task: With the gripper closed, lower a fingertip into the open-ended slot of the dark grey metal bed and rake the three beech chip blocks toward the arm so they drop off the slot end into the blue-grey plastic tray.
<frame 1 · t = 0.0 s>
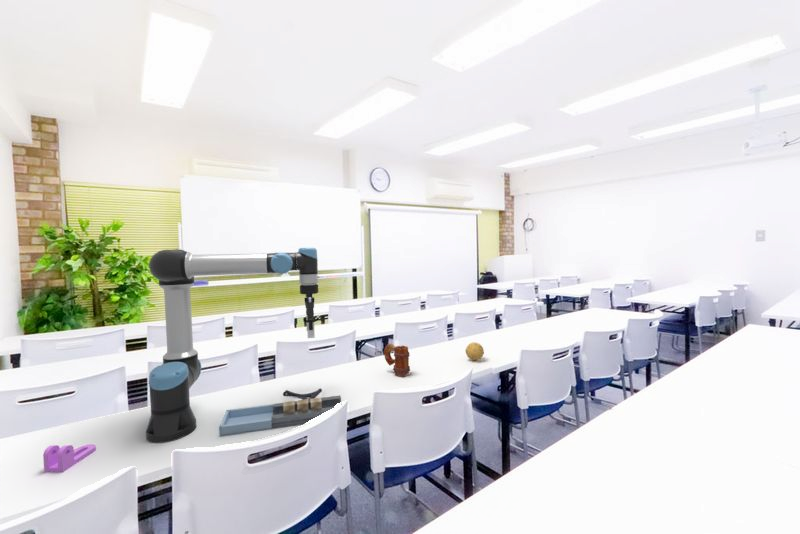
hand: (310, 334, 154), 28 cm above the table, fingers open, 13 cm apart
chip 3: (316, 410, 141), point 1 cm above the table, touching slot bed
stress ball: (474, 360, 204), on the table
chip 2: (302, 412, 139), point 1 cm above the table, touching slot bed
chip 1: (289, 413, 138), point 1 cm above the table, touching slot bed
bracket 2: (74, 460, 113), on the table
mug: (397, 374, 184), on the table
bracket: (299, 397, 158), on the table
slot bed: (308, 415, 140), on the table
tray: (248, 423, 134), on the table
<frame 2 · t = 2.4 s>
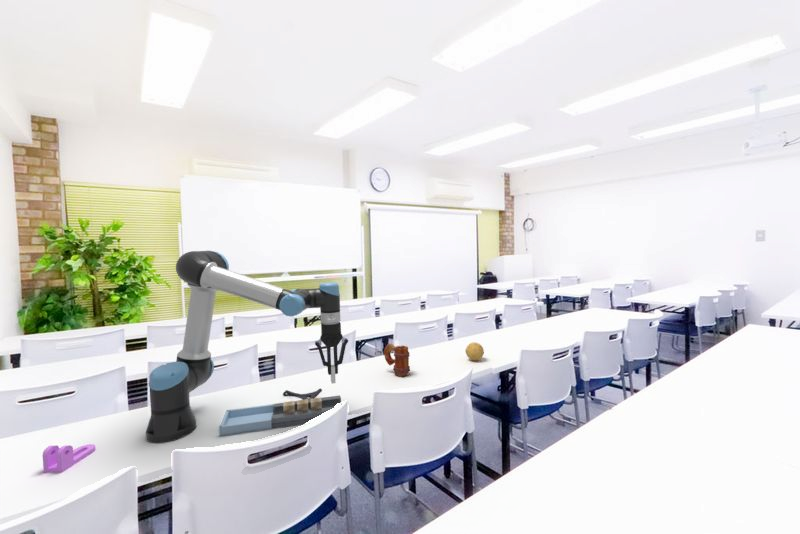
hand: (333, 382, 142), 12 cm above the table, fingers closed
nothing on the table moved.
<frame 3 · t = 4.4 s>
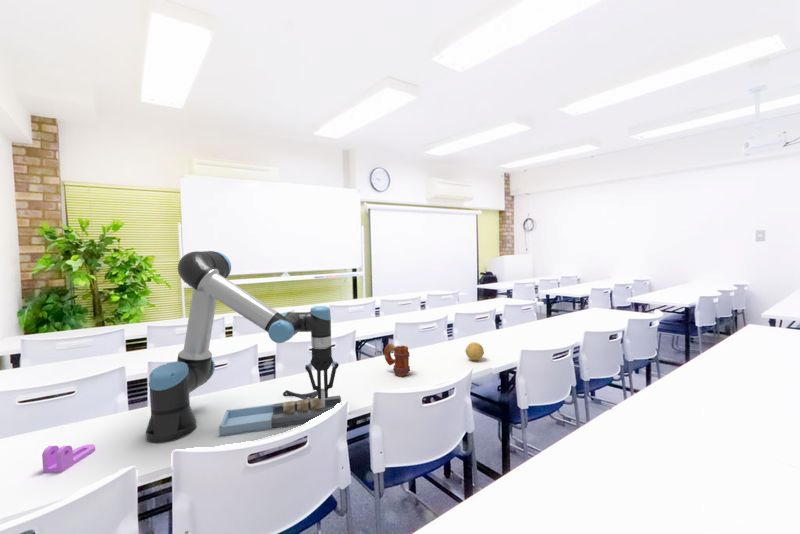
hand: (323, 406, 141), 3 cm above the table, fingers closed
chip 3: (316, 410, 141), point 2 cm above the table, touching gripper
everything else where it was.
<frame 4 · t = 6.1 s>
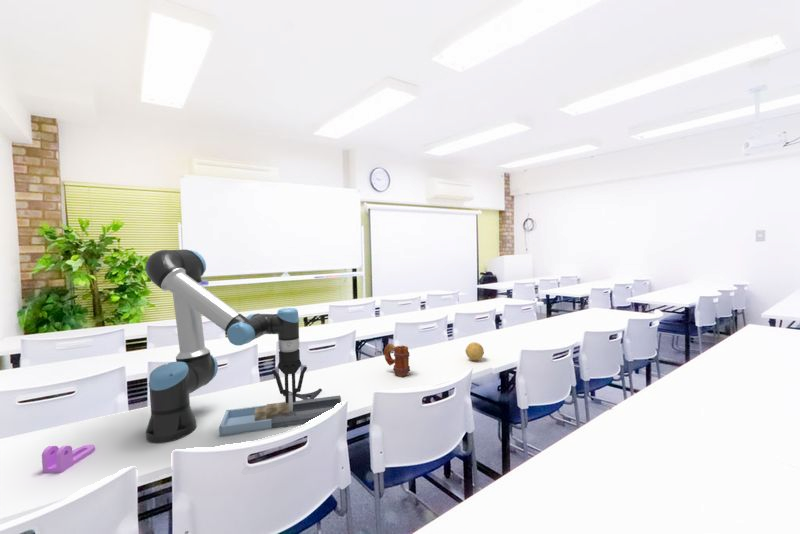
hand: (290, 410, 138), 3 cm above the table, fingers closed
chip 3: (283, 414, 137), point 2 cm above the table, touching chip 2, gripper
chip 2: (272, 416, 136), point 2 cm above the table, touching chip 1, chip 3
chip 1: (261, 420, 135), point 1 cm above the table, touching chip 2
everything else where it was.
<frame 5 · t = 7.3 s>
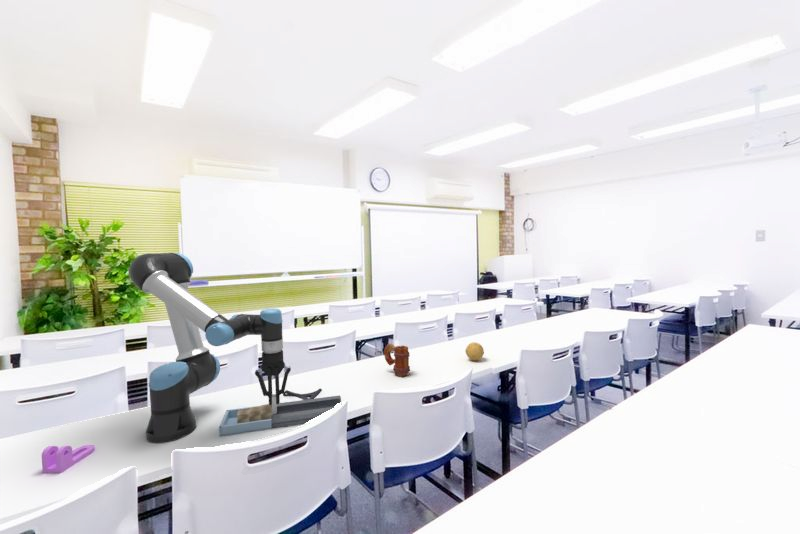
hand: (274, 412, 136), 3 cm above the table, fingers closed
chip 3: (267, 417, 136), point 1 cm above the table, touching chip 2, gripper
chip 2: (255, 419, 135), point 1 cm above the table, touching chip 1, chip 3
chip 1: (244, 422, 133), point 1 cm above the table, touching chip 2, tray
everything else where it was.
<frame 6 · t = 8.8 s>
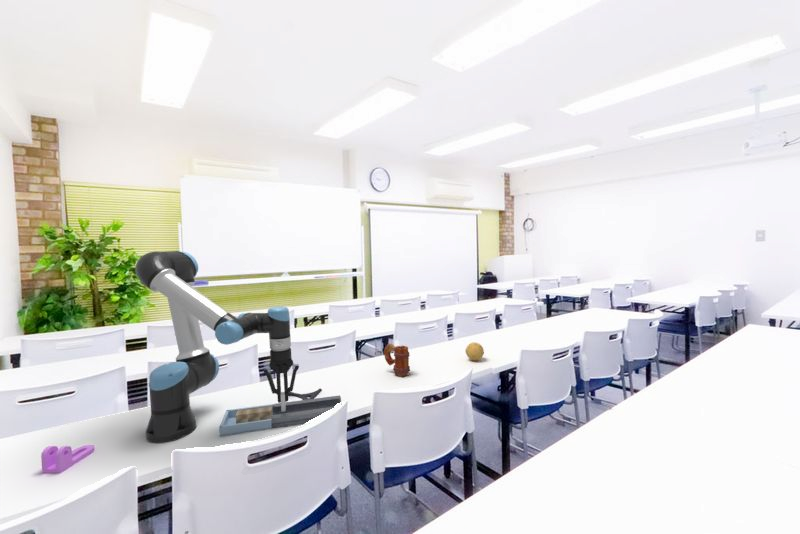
hand: (283, 410, 137), 3 cm above the table, fingers closed
chip 3: (266, 419, 136), resting on tray
chip 2: (254, 421, 134), resting on tray
chip 1: (242, 423, 133), resting on tray
everything else where it was.
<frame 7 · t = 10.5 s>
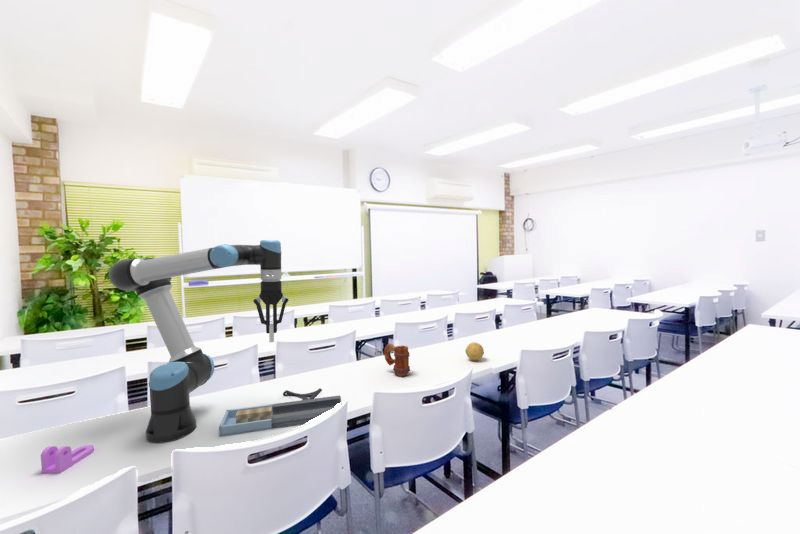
hand: (271, 341, 140), 29 cm above the table, fingers closed
nothing on the table moved.
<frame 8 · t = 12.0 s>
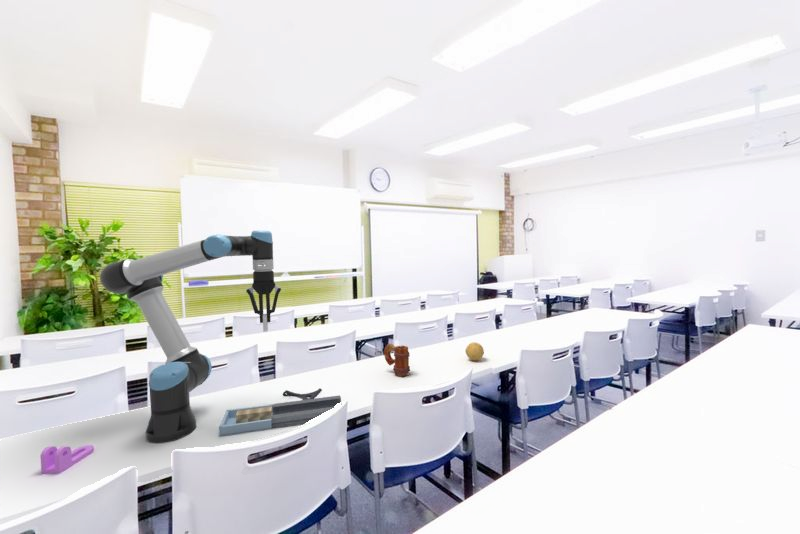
hand: (265, 330, 142), 32 cm above the table, fingers closed
nothing on the table moved.
at the end: chip 1 inside the target area on the tray (1.9 cm from its centre), point 0.5 cm above the tray's base; chip 2 inside the target area on the tray (2.1 cm from its centre), point 0.5 cm above the tray's base; chip 3 inside the target area on the tray (6.2 cm from its centre), point 0.5 cm above the tray's base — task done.
